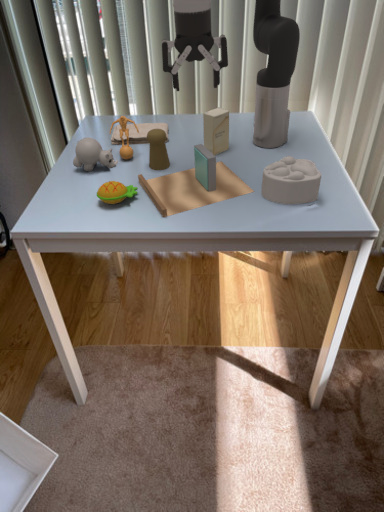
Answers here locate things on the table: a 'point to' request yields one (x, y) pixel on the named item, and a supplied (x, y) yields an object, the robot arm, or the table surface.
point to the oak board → (191, 190)
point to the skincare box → (216, 130)
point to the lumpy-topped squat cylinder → (291, 181)
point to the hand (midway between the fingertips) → (196, 88)
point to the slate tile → (205, 167)
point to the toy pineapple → (115, 192)
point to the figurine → (126, 150)
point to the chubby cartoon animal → (92, 155)
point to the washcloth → (137, 137)
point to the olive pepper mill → (158, 150)
